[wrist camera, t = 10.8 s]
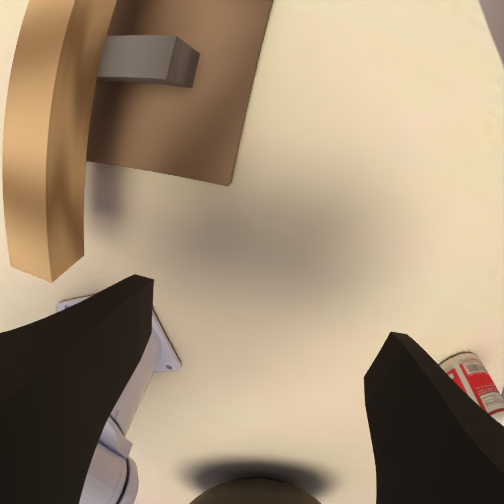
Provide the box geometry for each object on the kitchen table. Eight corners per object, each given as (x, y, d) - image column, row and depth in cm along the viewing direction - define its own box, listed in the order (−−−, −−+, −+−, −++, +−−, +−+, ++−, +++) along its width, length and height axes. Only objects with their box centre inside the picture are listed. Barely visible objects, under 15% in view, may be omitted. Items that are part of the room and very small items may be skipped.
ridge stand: (26, 150, 17) (-21, 164, 13) (54, -1, 12) (10, -14, 8) (231, 182, 17) (213, 206, 13) (275, -9, 12) (273, -49, 8)
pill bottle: (424, 404, 24) (453, 495, 14) (421, 368, 22) (460, 474, 12) (476, 379, 23) (515, 462, 13) (480, 339, 21) (533, 432, 11)
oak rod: (84, 255, 15) (51, 282, 12) (44, 243, 14) (10, 266, 12) (160, -99, 6) (139, -126, 3) (111, -89, 6) (85, -111, 3)
